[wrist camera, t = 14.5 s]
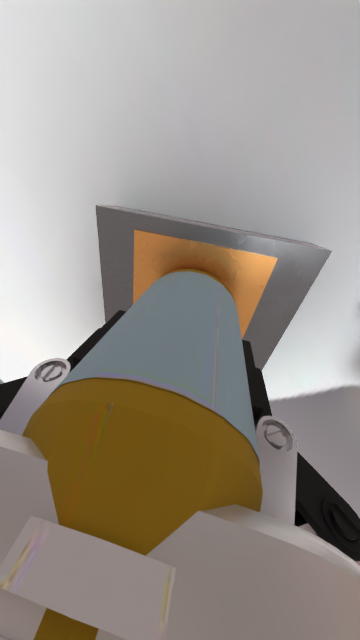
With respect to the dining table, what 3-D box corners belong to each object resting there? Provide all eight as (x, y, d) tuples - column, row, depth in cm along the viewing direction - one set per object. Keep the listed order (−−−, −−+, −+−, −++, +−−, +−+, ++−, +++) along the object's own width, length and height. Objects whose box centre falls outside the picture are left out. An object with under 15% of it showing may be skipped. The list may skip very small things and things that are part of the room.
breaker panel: (312, 243, 14) (338, 253, 11) (227, 406, 26) (228, 433, 23) (116, 206, 15) (88, 205, 12) (121, 377, 27) (108, 399, 24)
